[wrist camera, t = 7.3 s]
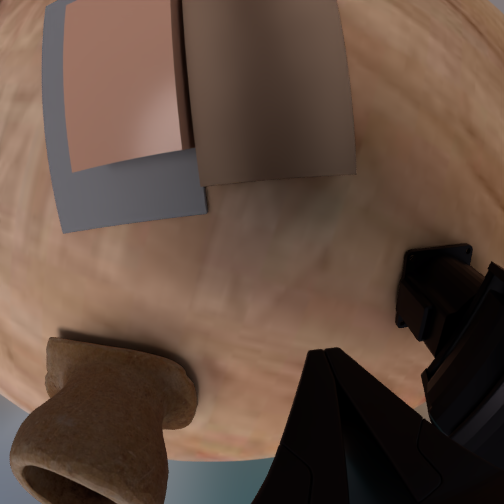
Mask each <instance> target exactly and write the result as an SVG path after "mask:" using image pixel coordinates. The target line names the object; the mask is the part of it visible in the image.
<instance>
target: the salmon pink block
mask: <svg viewBox="0 0 504 504" xmlns="http://www.w3.org/2000/svg"><path fill="white" fill-rule="evenodd" d="M63 85H64V105H65V118H66V129H67V139H68V147H69V155H70V162H71V168H72V173H74V172H77V171H81V170H85V169H89V168H93V167H98V166H102V165H106V164H111V163H115V162H120V161H124V160H129V159H134V158H139V157H145V156H150V155H156V154H161V153H167V152H173V151H180V150H185V149H190V148H195V140H194V131H193V122H192V113H191V104H190V94H189V84H188V73H187V61H186V49H185V36H184V22H183V6H182V0H76V1H74V2H72V3H70V4H68V5H66V11H65V23H64V42H63Z"/></svg>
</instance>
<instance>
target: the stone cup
mask: <svg viewBox="0 0 504 504" xmlns="http://www.w3.org/2000/svg"><path fill="white" fill-rule="evenodd" d="M46 352H47V371H48V373H47V375H46V377H45V380H46V381H45V386H46V390H47V393H48V395H49V396H50V399H49V400H48V401H46V402H45V403H44V404H42V405H41V406H39V407H38V408H36V409H35V410H34V411H33V412H32V413H31V414H29V416H28V417H27V418H26V419H25V421H24V422H23V423H22V424H21V426H20V428H19V430H18V432H17V434H16V436H15V438H14V441H13V444H12V447H11V451H10V466H11V469H12V472H13V474H14V476H15V477H16V479H17V480H18V481H19V483H20V484H21V485H22V487H23V488H24V489H25V490H26V491H27V492H29V493H30V494H31V495H32V496H33V497H34V498H35V499H37V500H38V501H39V502H41V503H42V504H164V500H165V495H166V489H167V480H168V472H169V470H168V460H167V452H166V448H165V443H164V438H163V431H162V429H169V430H175V429H181V428H184V427H186V426H188V425H189V424H190V423H191V422H192V420H193V418H194V416H195V412H196V407H197V394H196V390H195V386H194V384H193V382H192V381H191V380H190V379H189V378H188V377H187V376H186V372H185V370H184V368H183V367H181V366H180V365H179V364H178V363H176V362H174V361H173V360H170V359H167V358H164V357H161V356H157V355H154V354H150V353H146V352H141V351H137V350H131V349H126V348H119V347H112V346H105V345H100V344H94V343H87V342H80V341H74V340H69V339H63V338H56V337H50V338H49V341H48V344H47V348H46Z"/></svg>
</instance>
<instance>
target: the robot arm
mask: <svg viewBox="0 0 504 504" xmlns="http://www.w3.org/2000/svg"><path fill="white" fill-rule="evenodd" d="M467 249H468V250H467ZM466 250H467V252H466ZM472 251H473V248H472V246H471V245H469V244H467V243H465V244H457V245H448V246H439V247H430V248H421V249H412V250H408V251H407V252H406V254H405V256H404V265H403V273H402V279H401V281H400V284H399V292H398V299H397V305H396V311H397V314H396V320H395V323H396V325H397V326H398V328H404V327H409V329H410V330H411V332H412V333H413V335H414V336H415V338H416V339H417V340H418V341H419V342H421V341H423V342H424V343H425V344H426V346H427V347H428V349H429V350H430V352H431V353H432V355H433V356H434V357H435V359H434V360H433V362H432V363H431V364H430V366H429V367H428V368H426V369H425V370H424V371H423V373H422V374H421V378H422V383H423V387H424V392H425V397H426V402H427V407H428V414H429V418H430V421H431V423H430V422H428V421H427V420H426V419H422V416H421V415H420V414H418V413H417V412H416V411H415V410H413V409H412V408H411V407H410V406H409V405H407V404H406V403H405V402H404V401H403V400H401V399H400V398H399V397H398V396H396V395H395V394H394V393H393V392H392V391H390V390H389V389H388V388H387V387H386V386H384V385H383V384H382V383H381V382H380V381H378V380H377V379H376V378H375V377H374V376H372V375H371V374H370V373H369V372H368V371H366V370H365V369H364V368H363V367H362V366H360V365H359V364H358V363H357V362H356V361H355V360H353V359H352V358H351V357H350V356H349V355H347V354H346V353H345V352H344V351H343V350H342V349H340V348H338V347H335V348H326V349H324V350H322V349H316V350H309V351H308V353H307V357H306V360H305V364H304V367H303V371H302V374H301V378H300V381H299V385H298V388H297V391H296V395H295V398H294V401H293V404H292V408H291V411H290V414H289V417H288V420H287V423H286V426H285V429H284V432H283V435H282V438H281V441H280V445H279V446H278V449H277V452H276V455H275V458H274V460H273V463H272V465H271V467H270V470H269V472H268V475H267V477H266V478H265V480H264V482H263V484H262V486H261V488H260V489H259V491H258V493H257V495H256V496H255V498H254V500H253V501H252V503H251V504H504V269H503V268H502V267H500V266H498V265H497V264H495V263H494V262H492V261H491V263H490V265H489V267H488V272H487V274H486V276H483V275H482V274H481V273H479V272H478V271H477V270H476V269H474V268H473V267H472V266H470V262H471V257H472ZM412 255H413V258H412V259H410V257H411V256H412ZM401 321H402V322H401ZM400 322H401V323H400Z"/></svg>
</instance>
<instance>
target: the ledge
mask: <svg viewBox="0 0 504 504" xmlns="http://www.w3.org/2000/svg"><path fill="white" fill-rule="evenodd" d="M182 6H183V22H184V36H185V49H186V61H187V73H188V84H189V94H190V104H191V113H192V122H193V131H194V140H195V148H196V157H197V165H198V172H199V180H200V187H205V186H213V185H221V184H231V183H240V182H250V181H261V180H272V179H285V178H299V177H315V176H333V175H357V174H356V150H355V134H354V120H353V108H352V98H351V88H350V80H349V72H348V64H347V57H346V50H345V44H344V37H343V32H342V26H341V20H340V15H339V10H338V5H337V0H182Z"/></svg>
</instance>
